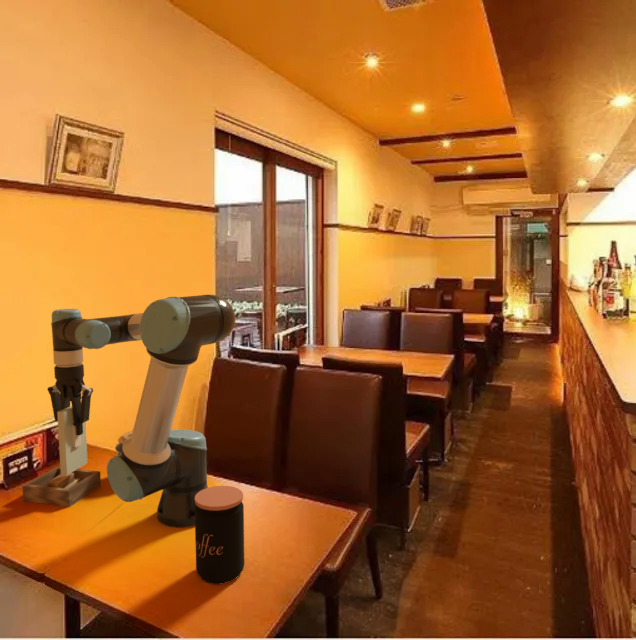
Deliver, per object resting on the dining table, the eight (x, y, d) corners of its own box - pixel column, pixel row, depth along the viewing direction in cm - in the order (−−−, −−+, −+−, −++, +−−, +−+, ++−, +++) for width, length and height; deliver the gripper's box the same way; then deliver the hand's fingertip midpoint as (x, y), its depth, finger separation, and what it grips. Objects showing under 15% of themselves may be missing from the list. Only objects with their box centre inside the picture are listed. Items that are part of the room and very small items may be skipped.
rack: (101, 490, 165) (100, 471, 164) (70, 512, 152) (68, 491, 151) (57, 485, 169) (56, 466, 168) (23, 506, 155) (22, 485, 154)
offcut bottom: (80, 486, 164) (80, 478, 164) (57, 501, 155) (57, 493, 154) (69, 485, 165) (68, 477, 165) (45, 499, 156) (44, 491, 155)
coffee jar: (187, 571, 124) (184, 495, 122) (226, 553, 131) (225, 481, 129) (213, 592, 117) (212, 511, 114) (254, 572, 124) (253, 495, 122)
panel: (87, 463, 162) (84, 403, 160) (67, 475, 153) (63, 412, 151) (81, 462, 163) (78, 403, 160) (60, 474, 154) (57, 411, 152)
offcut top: (74, 481, 162) (73, 473, 162) (58, 492, 155) (58, 483, 155) (63, 480, 163) (63, 472, 162) (47, 491, 155) (47, 482, 155)
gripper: (100, 363, 156) (104, 443, 159) (54, 360, 159) (59, 438, 162) (83, 368, 149) (88, 452, 152) (36, 365, 152) (41, 447, 155)
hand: (73, 445), depth 157 cm, fingers closed on panel, 2 cm apart
